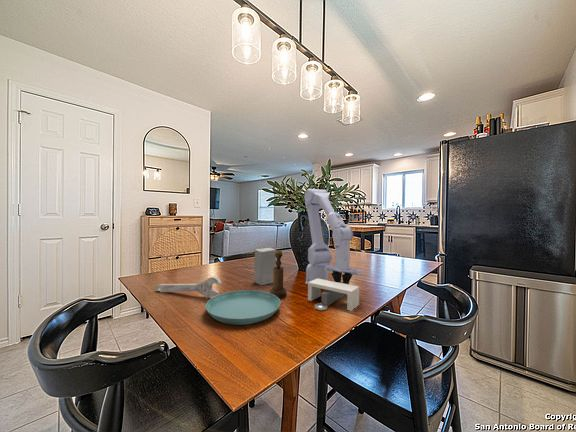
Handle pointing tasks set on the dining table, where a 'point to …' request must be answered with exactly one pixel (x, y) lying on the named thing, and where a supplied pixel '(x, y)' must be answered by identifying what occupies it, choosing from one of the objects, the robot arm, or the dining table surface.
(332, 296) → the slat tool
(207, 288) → the wrench
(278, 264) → the pepper mill
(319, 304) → the steel disc
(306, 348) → the dining table surface
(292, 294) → the dining table surface
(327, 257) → the robot arm
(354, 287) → the low bench
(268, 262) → the skincare box
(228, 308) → the saucer
